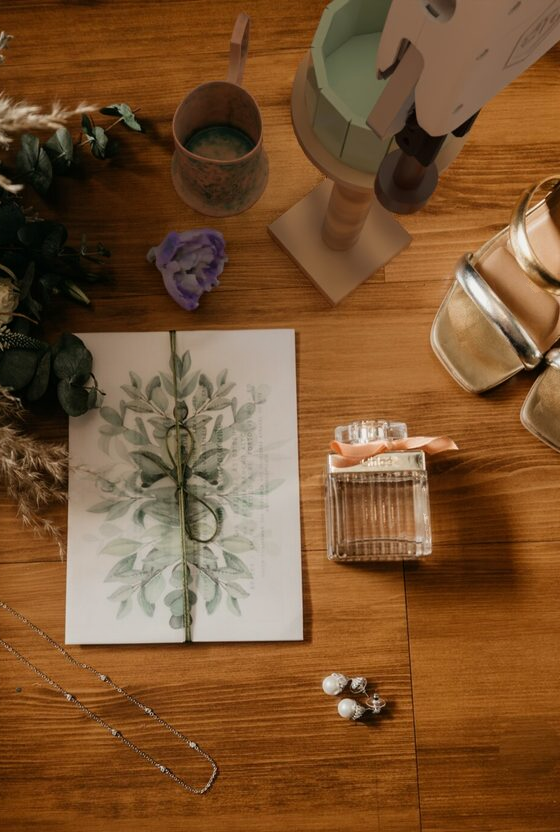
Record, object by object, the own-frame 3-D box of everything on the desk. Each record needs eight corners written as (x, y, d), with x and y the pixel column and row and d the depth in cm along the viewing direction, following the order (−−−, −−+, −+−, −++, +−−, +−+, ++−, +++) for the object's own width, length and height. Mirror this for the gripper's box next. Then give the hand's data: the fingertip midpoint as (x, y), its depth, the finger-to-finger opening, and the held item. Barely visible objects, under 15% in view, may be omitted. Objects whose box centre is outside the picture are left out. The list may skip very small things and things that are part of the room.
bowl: (390, -1, 59) (406, -58, 54) (492, 109, 58) (519, 63, 53) (274, 92, 58) (277, 44, 53) (375, 205, 58) (390, 169, 52)
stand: (345, 152, 85) (391, -20, 59) (428, 245, 84) (513, 111, 58) (248, 230, 84) (253, 90, 58) (332, 325, 83) (374, 225, 57)
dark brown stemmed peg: (404, 147, 49) (458, 18, 37) (444, 189, 49) (511, 73, 37) (361, 184, 49) (401, 66, 37) (401, 227, 48) (454, 122, 37)
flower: (108, 265, 77) (188, 258, 73) (137, 213, 81) (215, 204, 77) (145, 327, 84) (221, 324, 80) (170, 277, 88) (243, 271, 84)
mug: (291, 90, 86) (299, 16, 74) (255, 227, 84) (258, 174, 72) (198, 68, 86) (191, -9, 74) (160, 204, 85) (147, 147, 73)
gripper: (476, 42, 23) (371, 265, 42) (818, -248, 24) (569, 94, 43) (321, -117, 24) (285, 172, 42) (663, -395, 25) (482, 5, 43)
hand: (429, 131), depth 42 cm, fingers closed on dark brown stemmed peg, 2 cm apart
